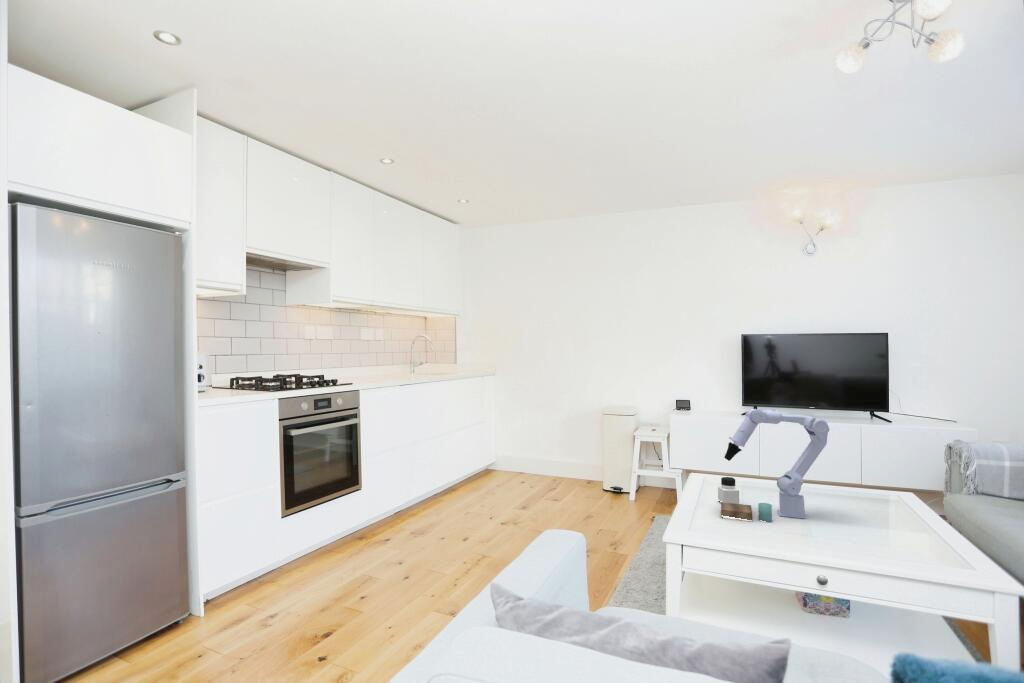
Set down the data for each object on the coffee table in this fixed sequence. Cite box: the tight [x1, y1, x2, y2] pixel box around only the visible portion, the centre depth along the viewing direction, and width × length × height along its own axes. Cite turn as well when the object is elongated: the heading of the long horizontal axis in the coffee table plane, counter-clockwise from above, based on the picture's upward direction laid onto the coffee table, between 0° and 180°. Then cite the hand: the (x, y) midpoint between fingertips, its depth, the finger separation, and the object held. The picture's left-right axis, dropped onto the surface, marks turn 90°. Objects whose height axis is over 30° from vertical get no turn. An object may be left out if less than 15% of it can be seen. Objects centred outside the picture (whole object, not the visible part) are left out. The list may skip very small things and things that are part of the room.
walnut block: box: [720, 502, 753, 521], centre depth 220 cm, size 12×12×4 cm
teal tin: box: [757, 502, 773, 523], centre depth 214 cm, size 5×5×6 cm
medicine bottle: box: [717, 476, 740, 504], centre depth 239 cm, size 7×7×12 cm
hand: (726, 459), depth 225 cm, fingers open, 7 cm apart
